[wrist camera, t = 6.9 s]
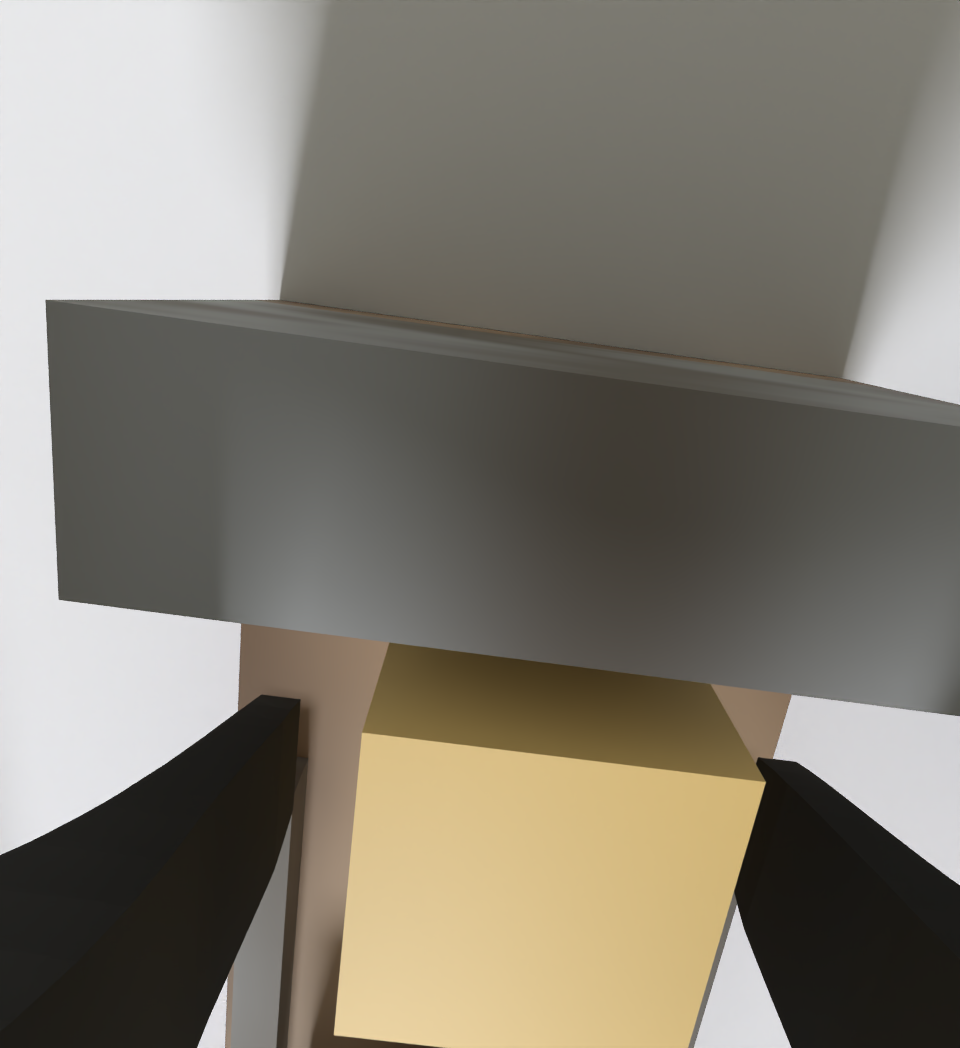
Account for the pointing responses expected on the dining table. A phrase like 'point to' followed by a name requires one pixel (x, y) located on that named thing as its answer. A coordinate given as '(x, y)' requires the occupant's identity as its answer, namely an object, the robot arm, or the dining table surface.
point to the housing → (539, 854)
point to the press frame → (487, 540)
